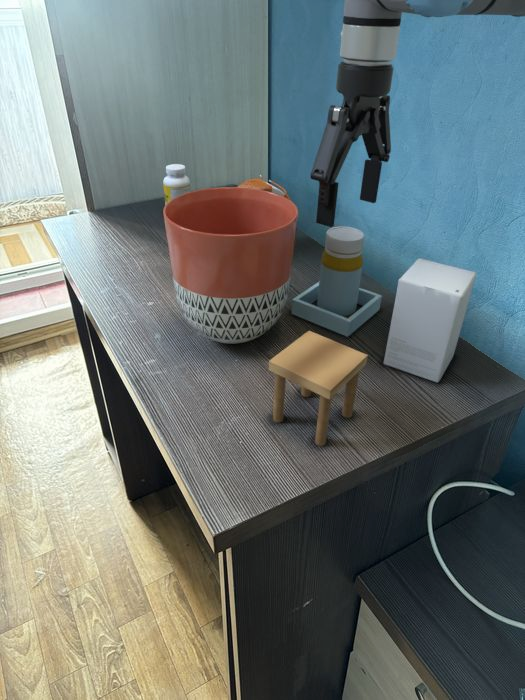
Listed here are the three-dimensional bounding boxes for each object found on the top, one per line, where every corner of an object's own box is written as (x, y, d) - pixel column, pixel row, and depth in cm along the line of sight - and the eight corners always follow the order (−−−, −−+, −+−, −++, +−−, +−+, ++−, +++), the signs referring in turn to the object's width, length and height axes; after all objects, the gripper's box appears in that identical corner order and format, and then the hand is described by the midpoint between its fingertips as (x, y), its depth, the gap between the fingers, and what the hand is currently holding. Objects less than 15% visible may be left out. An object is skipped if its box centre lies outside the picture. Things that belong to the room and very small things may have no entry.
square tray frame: (379, 309, 95) (382, 295, 93) (347, 337, 87) (349, 322, 85) (325, 290, 100) (327, 276, 98) (291, 313, 93) (292, 299, 91)
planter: (313, 330, 88) (324, 207, 76) (236, 383, 76) (235, 248, 64) (230, 292, 99) (228, 179, 86) (150, 334, 86) (134, 209, 74)
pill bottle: (172, 207, 135) (168, 161, 128) (195, 210, 133) (193, 164, 127) (161, 216, 129) (157, 169, 123) (185, 219, 128) (182, 171, 121)
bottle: (308, 312, 93) (315, 233, 85) (331, 298, 98) (339, 222, 89) (341, 326, 90) (351, 245, 81) (362, 311, 94) (374, 233, 85)
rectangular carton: (455, 355, 83) (480, 271, 75) (438, 384, 77) (463, 296, 68) (401, 337, 87) (418, 255, 79) (381, 364, 81) (397, 278, 72)
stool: (357, 413, 71) (368, 354, 66) (323, 450, 66) (330, 390, 60) (303, 387, 76) (308, 330, 70) (266, 420, 70) (268, 360, 64)
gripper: (383, 52, 81) (364, 187, 93) (291, 67, 64) (283, 229, 77) (429, 56, 77) (402, 197, 89) (343, 74, 61) (326, 242, 73)
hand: (347, 212), depth 83 cm, fingers open, 13 cm apart
